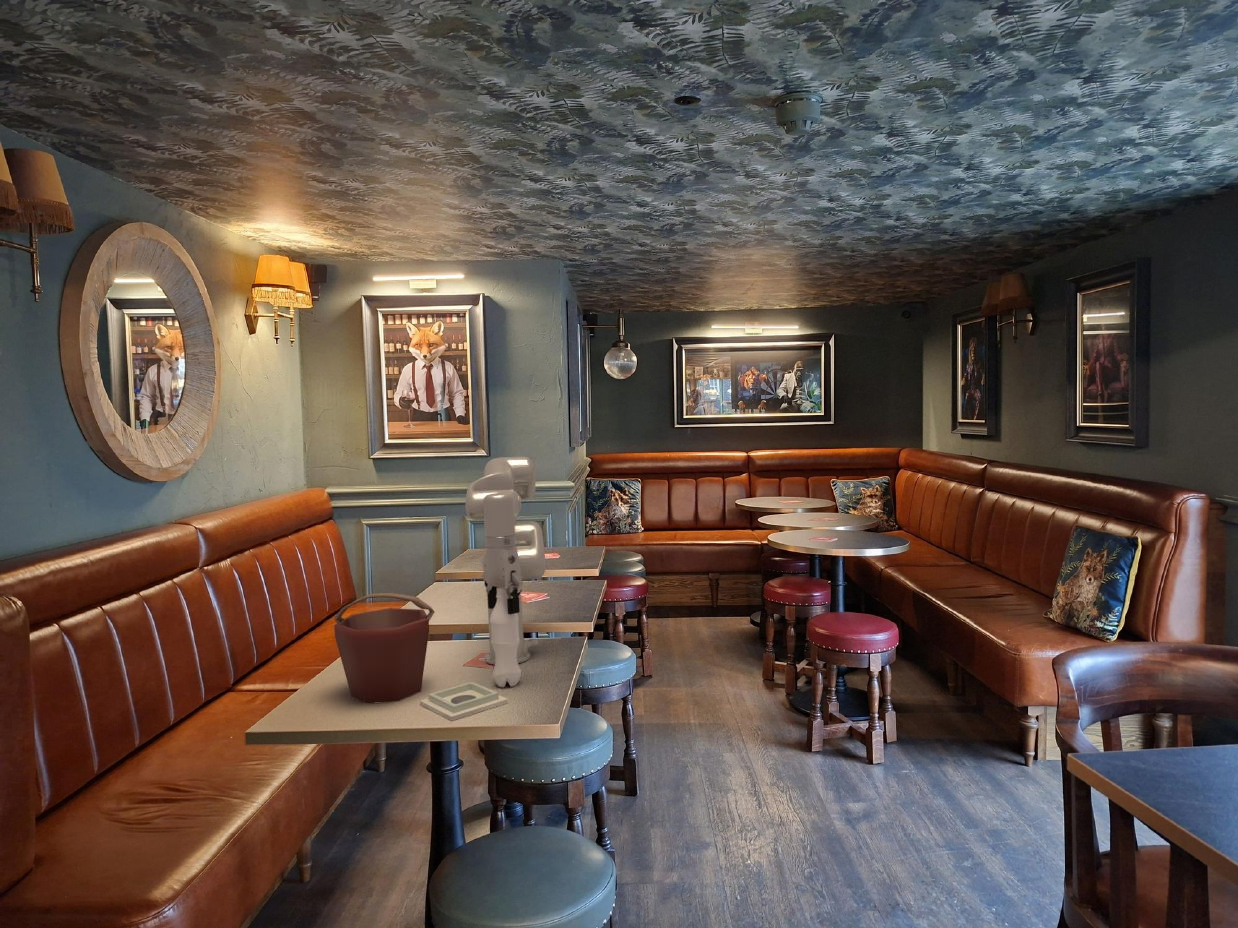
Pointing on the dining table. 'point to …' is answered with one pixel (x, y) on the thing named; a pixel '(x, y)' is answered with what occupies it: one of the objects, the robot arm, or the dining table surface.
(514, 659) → the water bottle
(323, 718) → the dining table surface
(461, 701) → the plate
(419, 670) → the bucket
